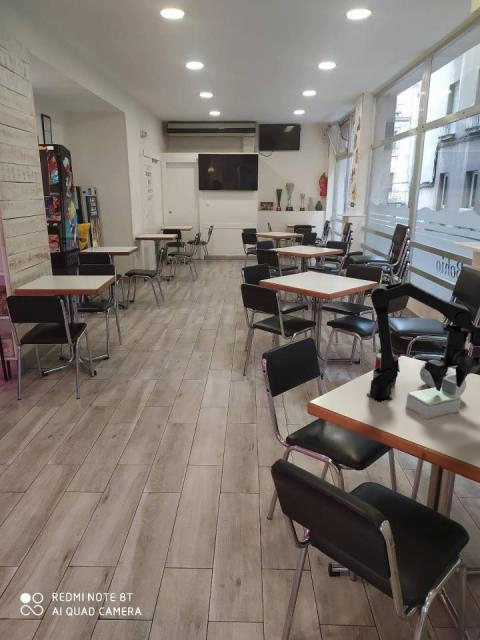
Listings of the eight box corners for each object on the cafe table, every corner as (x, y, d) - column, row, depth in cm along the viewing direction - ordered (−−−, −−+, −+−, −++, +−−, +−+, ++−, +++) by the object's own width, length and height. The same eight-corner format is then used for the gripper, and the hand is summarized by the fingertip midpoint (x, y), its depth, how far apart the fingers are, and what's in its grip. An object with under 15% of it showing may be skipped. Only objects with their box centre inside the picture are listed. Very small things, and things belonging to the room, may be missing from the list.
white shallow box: (426, 419, 139) (428, 406, 138) (405, 407, 147) (407, 395, 146) (458, 412, 145) (460, 399, 144) (436, 400, 153) (438, 388, 151)
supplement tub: (446, 372, 168) (471, 388, 154) (426, 387, 168) (449, 405, 154) (434, 354, 165) (459, 369, 151) (414, 369, 165) (437, 386, 151)
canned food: (392, 389, 161) (396, 361, 158) (370, 384, 165) (373, 357, 162) (397, 382, 167) (401, 355, 164) (376, 377, 171) (379, 351, 169)
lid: (428, 405, 138) (430, 392, 137) (407, 394, 146) (409, 381, 145) (460, 398, 144) (462, 385, 142) (439, 388, 151) (440, 375, 150)
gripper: (455, 355, 132) (447, 403, 136) (498, 348, 139) (489, 394, 143) (426, 344, 142) (420, 389, 146) (468, 338, 149) (460, 381, 153)
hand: (448, 388), depth 147 cm, fingers open, 9 cm apart
